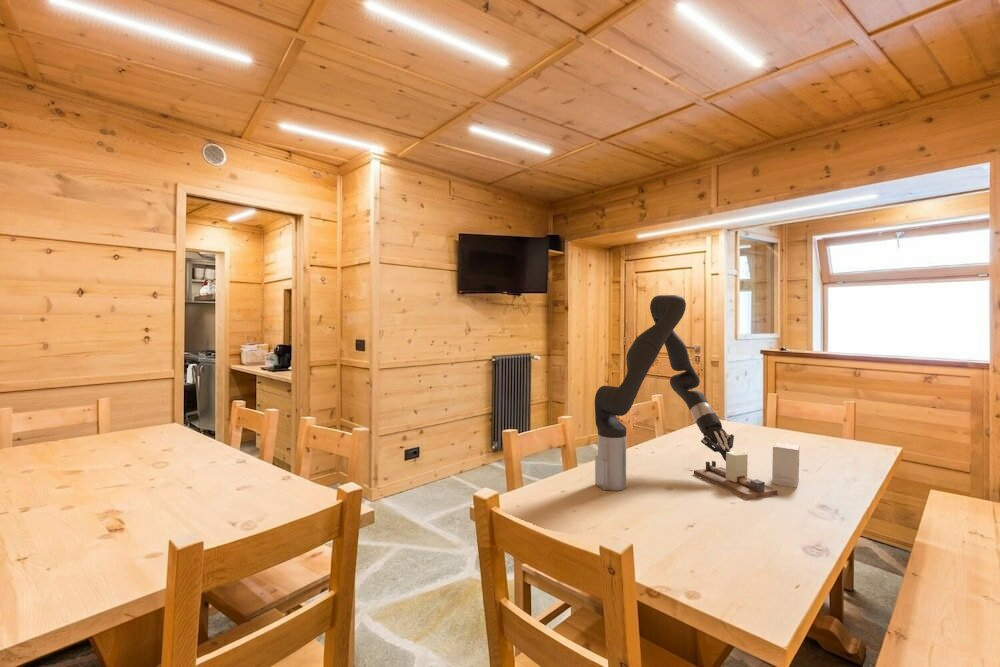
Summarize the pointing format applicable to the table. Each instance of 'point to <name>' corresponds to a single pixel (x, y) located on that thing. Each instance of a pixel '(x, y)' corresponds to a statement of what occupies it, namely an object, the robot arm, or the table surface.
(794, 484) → the supplement box
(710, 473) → the rail
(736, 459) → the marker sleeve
